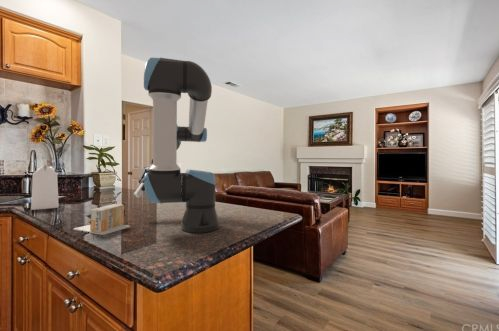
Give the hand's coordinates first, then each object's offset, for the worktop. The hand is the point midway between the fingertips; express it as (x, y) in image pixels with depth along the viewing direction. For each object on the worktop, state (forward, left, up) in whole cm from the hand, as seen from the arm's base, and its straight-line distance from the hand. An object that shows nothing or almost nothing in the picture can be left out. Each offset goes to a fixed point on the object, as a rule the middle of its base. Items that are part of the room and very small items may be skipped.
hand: (136, 195), depth 114 cm
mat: (0, +17, -11) cm, 20 cm away
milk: (+68, 0, -11) cm, 69 cm away
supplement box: (-1, +10, -6) cm, 11 cm away
